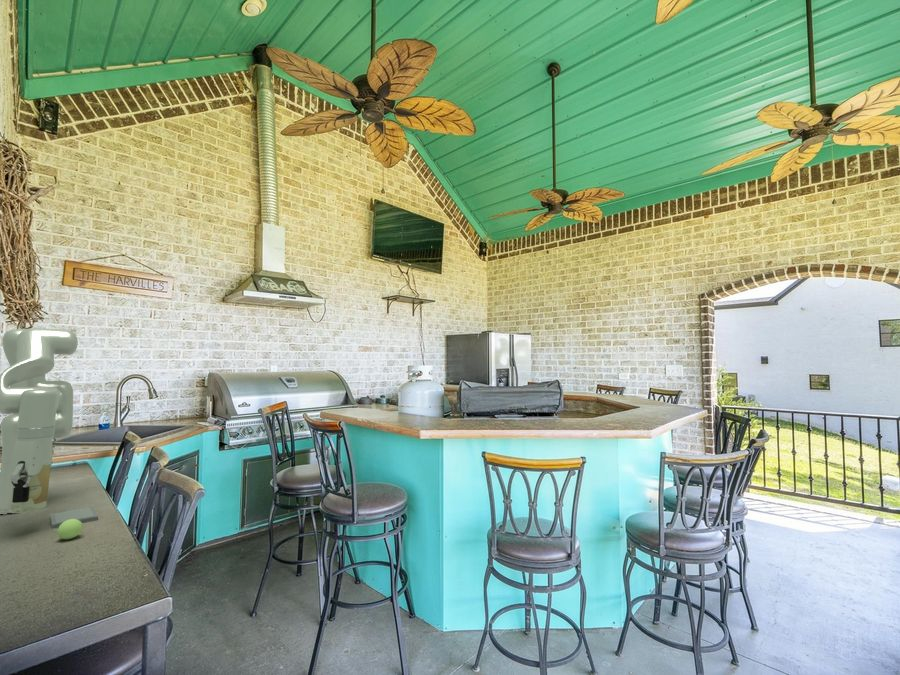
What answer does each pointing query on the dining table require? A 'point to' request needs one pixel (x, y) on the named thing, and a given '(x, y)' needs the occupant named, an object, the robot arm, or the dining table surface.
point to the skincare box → (34, 492)
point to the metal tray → (73, 516)
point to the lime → (69, 529)
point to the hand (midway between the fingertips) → (30, 496)
